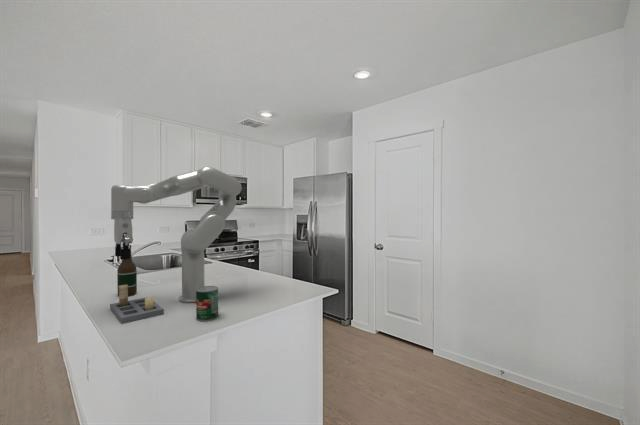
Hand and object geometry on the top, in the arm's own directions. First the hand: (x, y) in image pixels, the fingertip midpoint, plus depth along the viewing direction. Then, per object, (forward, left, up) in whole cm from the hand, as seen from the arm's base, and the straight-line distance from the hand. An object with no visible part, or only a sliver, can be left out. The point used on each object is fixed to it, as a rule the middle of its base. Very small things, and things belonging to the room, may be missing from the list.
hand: (122, 257), depth 121 cm
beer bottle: (+11, -22, -22) cm, 32 cm away
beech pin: (0, 0, -21) cm, 21 cm away
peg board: (-7, +2, -21) cm, 22 cm away
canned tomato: (-37, +10, -22) cm, 44 cm away
